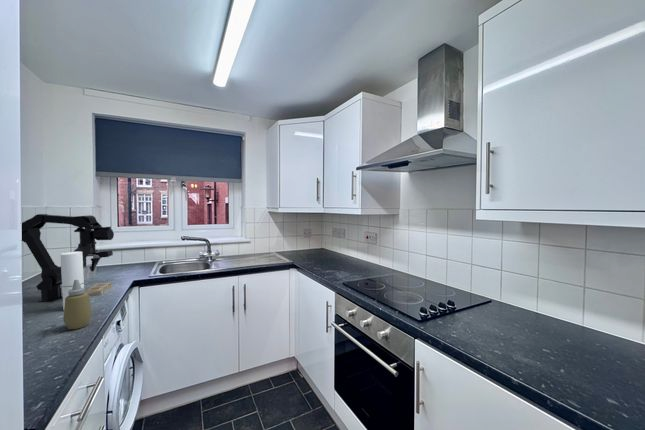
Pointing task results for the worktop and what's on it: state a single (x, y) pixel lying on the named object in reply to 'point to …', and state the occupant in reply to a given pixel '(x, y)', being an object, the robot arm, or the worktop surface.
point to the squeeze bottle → (77, 307)
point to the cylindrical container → (71, 271)
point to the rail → (98, 288)
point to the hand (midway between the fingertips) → (88, 271)
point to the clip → (88, 271)
